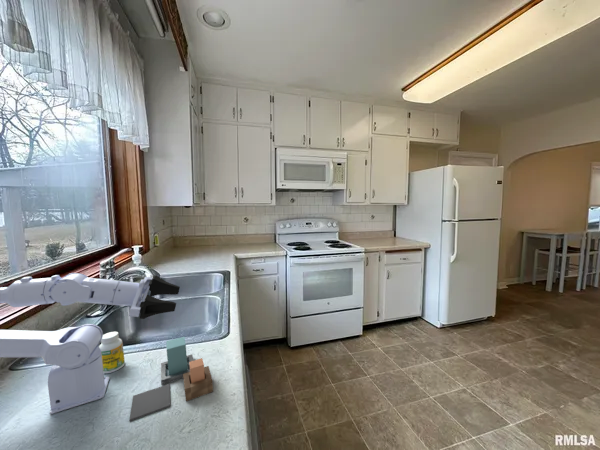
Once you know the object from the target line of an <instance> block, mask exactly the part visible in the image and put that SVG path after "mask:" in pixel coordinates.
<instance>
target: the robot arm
mask: <svg viewBox="0 0 600 450" xmlns="http://www.w3.org/2000/svg"><path fill="white" fill-rule="evenodd" d="M149 292H150V293H149ZM179 292H180V286H179V285H176V284H174V283H170V282H168V281H166V280H164V279H162V278H161V277H159V276H158V275H153V276H152V277H151V276H145V277H144V278H143V279H142V278H141V280H140V281H139V282H133V281H126V280H125V281H124V280H118V279H116V280H114V279H107V278H95V277H89V276H87V275H86V274H83V273H80V272H79V273H78V272H71V273H68V274H67V275H65V276H64V277H61V276H60V274H55V275H52V276H51V277H42V278H41V277H40V278H33V277H32V276H24V277H22V278H20V279H17V280H15V281H14V282H12V283H11V284H10V285H8V286H4V287H3V286H1V287H0V304H7V305H9V306H10V307H12V308H21V307H22V308H23V307H30V306H40V305H49V304H54V303H57V304H58V303H60V305H61V306H70V305H74V304H75V303H90V304H99V305H100V304H101V305H111V306H124V307H126V306H127V307H130V309H129V314H128V317H132V318H135V317H136V318H139V319H140V320H144V319H147V318H149V317H153V316H155V315H159V314H164V313H171V312H175V311H176V307H177V302H175V301H171V300H164V299H159V298H157V297H156V296H160V295H161V296H162V295H168V296H169V295H172V296H173V295H175V296H176V295H179ZM148 293H149V294H148ZM103 332H104V331H103V330H102V328H101V327H100V326H98V325H97V324H93V323H85V324H82V325H79V326H68V327H64V328H60V329H57V330H27V329H26V330H24V329H22V330H21V329H0V358H42V360H43V362H44V364H45V365H48V366H51V365H52V367H51V368H50V370H49V371H48V372H49V373H48V378H47V389H48V395H49V405H50V411H49V414H50V415H53V414H56V413H58V412H59V413H60V412H62V411H65V410H68V409H72V408H75V407H77V406H82V405H85V404H88V403H90V402H94V401H98V400H100V399H103V398H104V397H105V394H106V391H107V387H108V385H109V382H110V381H109V380H110V376H105V373H104V372H103V363H102V354H101V349H100V348H99V346H100V343H101V339H102V337H103V335H104V333H103Z"/></svg>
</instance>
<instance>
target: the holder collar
mask: <svg viewBox="0 0 600 450" xmlns="http://www.w3.org/2000/svg"><path fill="white" fill-rule="evenodd" d="M191 361H194V356H193V353H192V354H189V355H188V354H187V362H188V363H189V362H191ZM160 364H161V365H160V366H161V367H160V385H161V386H164V385H167V384H170V383H172V382H176V381H178V380H181V379H184V378H183V374H185V373H188V372H190V368H188V370H186V371H182V372H179V373H176V374H173V375H170V376H169V375H167V373H166V371H167V369H168V360H167V361H164V362H161V363H160ZM166 375H167V376H166Z"/></svg>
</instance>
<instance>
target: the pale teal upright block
mask: <svg viewBox="0 0 600 450" xmlns="http://www.w3.org/2000/svg"><path fill="white" fill-rule="evenodd" d="M186 345H187V344H186V337H185V336H182V337H177V338H174V339H170V340H166V359H167V361H168V367H167V369H168V376H170V375H173V374H176V373H179V372H182V371H186V370H189V368H188V361H187V356H188V354H187V346H186Z"/></svg>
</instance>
